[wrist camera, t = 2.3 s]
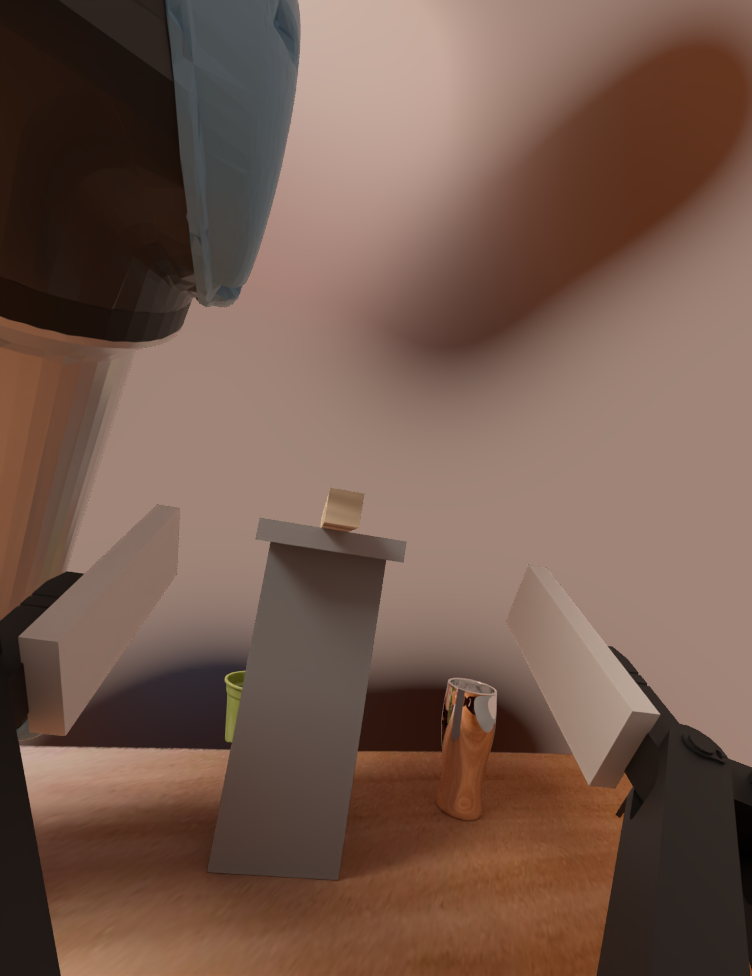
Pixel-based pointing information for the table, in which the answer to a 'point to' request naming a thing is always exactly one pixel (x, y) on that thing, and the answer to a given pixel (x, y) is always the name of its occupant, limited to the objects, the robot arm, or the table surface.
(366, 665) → the grey stand
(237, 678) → the plant pot
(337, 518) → the wooden bar
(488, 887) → the table surface
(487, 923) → the table surface
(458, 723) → the beer glass
